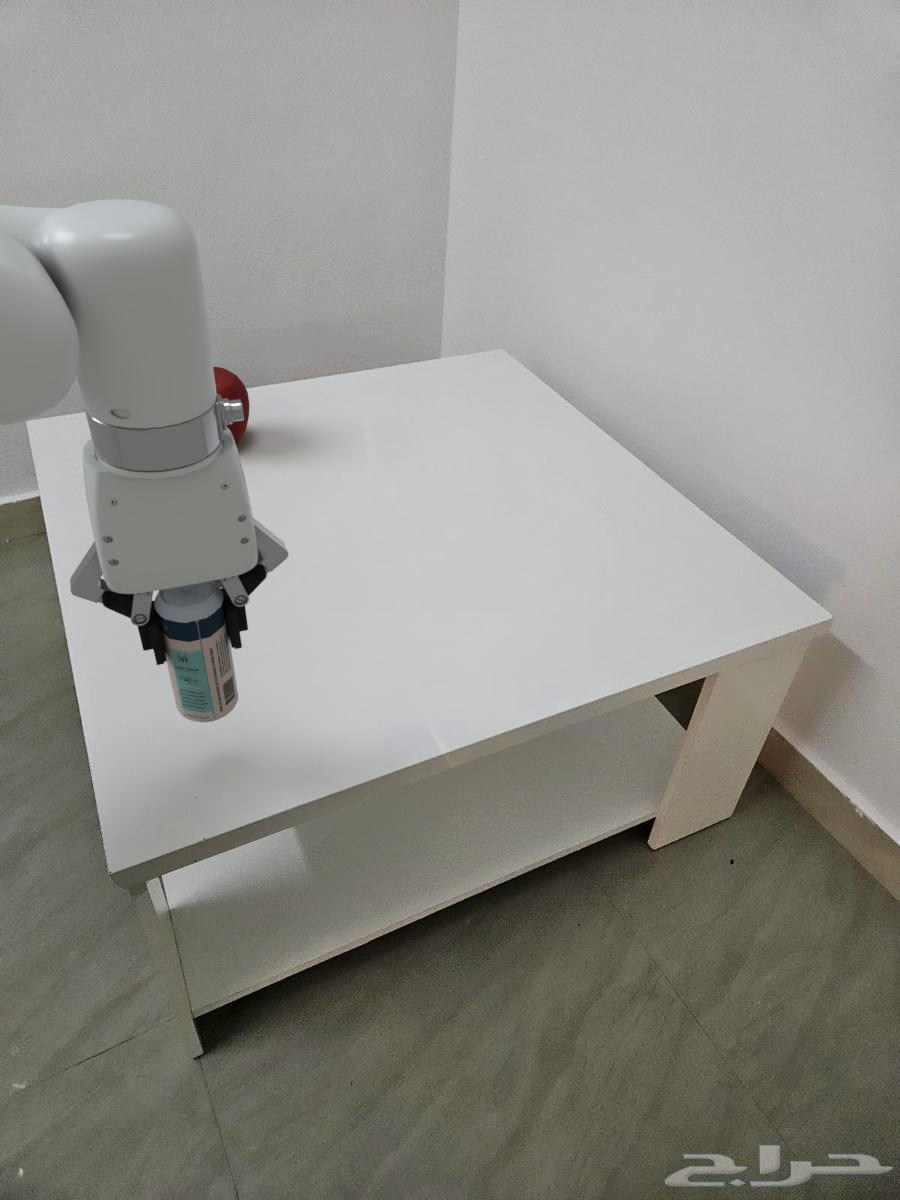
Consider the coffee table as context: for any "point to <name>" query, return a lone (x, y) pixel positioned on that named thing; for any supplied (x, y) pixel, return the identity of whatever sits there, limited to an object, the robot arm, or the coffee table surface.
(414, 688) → the coffee table surface
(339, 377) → the coffee table surface
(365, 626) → the coffee table surface
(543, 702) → the coffee table surface
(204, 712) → the beer can
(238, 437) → the apple
